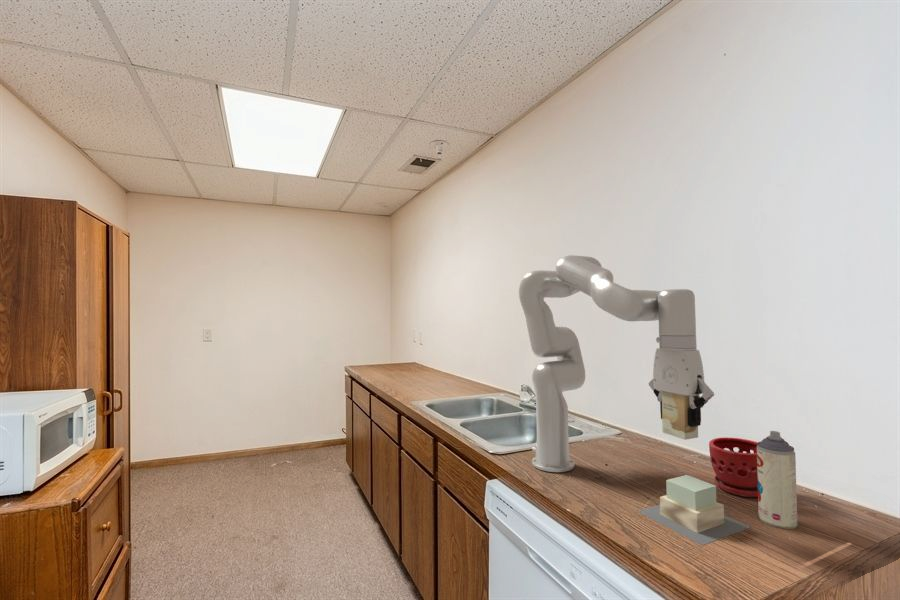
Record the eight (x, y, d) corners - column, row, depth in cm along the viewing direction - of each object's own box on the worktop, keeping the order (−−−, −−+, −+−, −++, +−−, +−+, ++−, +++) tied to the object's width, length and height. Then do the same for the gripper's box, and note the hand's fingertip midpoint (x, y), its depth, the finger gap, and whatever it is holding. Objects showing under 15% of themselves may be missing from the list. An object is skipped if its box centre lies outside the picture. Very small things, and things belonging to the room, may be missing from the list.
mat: (636, 512, 99) (636, 511, 99) (682, 499, 106) (682, 497, 106) (702, 547, 85) (702, 545, 85) (751, 528, 91) (750, 527, 91)
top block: (666, 497, 97) (666, 480, 97) (687, 491, 100) (686, 474, 100) (695, 510, 91) (695, 491, 91) (716, 504, 94) (715, 485, 94)
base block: (660, 514, 97) (659, 496, 98) (686, 506, 101) (685, 489, 101) (697, 532, 89) (696, 513, 89) (724, 523, 93) (723, 505, 93)
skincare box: (661, 433, 98) (659, 380, 99) (675, 430, 100) (673, 378, 100) (686, 440, 92) (684, 384, 93) (700, 438, 94) (698, 382, 95)
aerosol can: (760, 512, 99) (757, 426, 99) (798, 521, 94) (795, 431, 95) (757, 523, 94) (754, 432, 94) (797, 534, 89) (794, 438, 89)
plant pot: (707, 477, 120) (706, 434, 120) (764, 485, 114) (763, 440, 114) (713, 495, 108) (711, 448, 108) (777, 505, 102) (775, 455, 102)
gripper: (635, 341, 103) (637, 416, 103) (702, 346, 88) (705, 434, 87) (656, 340, 106) (659, 412, 106) (726, 344, 91) (729, 429, 90)
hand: (680, 421), depth 96 cm, fingers closed on skincare box, 6 cm apart
